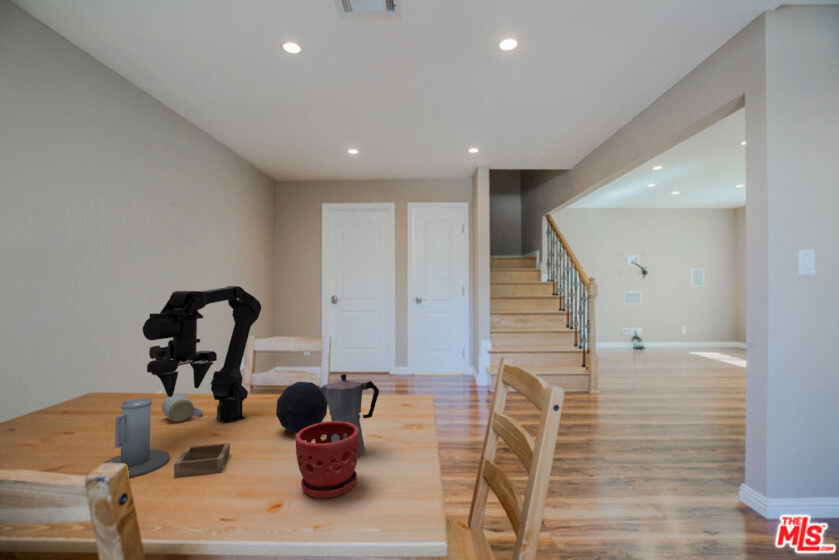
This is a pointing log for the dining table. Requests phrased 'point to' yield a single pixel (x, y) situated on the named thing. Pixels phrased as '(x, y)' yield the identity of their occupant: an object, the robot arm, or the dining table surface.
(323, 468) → the plant pot
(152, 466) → the rubber mat
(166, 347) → the robot arm
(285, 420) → the decorative orb
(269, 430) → the dining table surface
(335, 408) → the moka pot
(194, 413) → the ceramic mug
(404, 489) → the dining table surface
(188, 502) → the dining table surface
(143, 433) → the jug
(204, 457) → the jug holder
